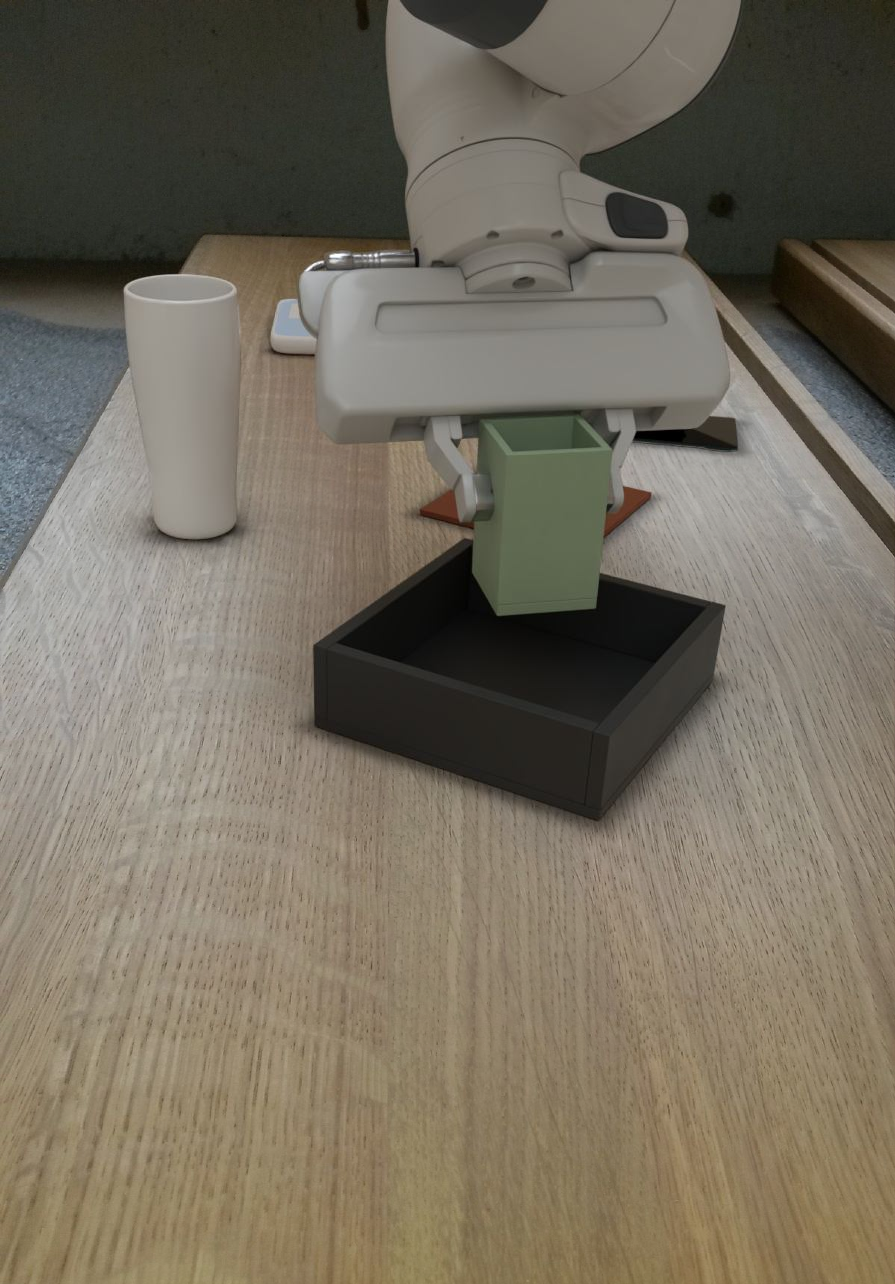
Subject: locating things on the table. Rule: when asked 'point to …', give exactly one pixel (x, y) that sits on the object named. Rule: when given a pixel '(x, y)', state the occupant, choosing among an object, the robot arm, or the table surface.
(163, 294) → the drinking glass
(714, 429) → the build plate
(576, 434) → the box
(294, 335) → the calculator
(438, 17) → the robot arm
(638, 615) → the bin
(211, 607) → the table surface
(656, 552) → the table surface
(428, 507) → the mat
